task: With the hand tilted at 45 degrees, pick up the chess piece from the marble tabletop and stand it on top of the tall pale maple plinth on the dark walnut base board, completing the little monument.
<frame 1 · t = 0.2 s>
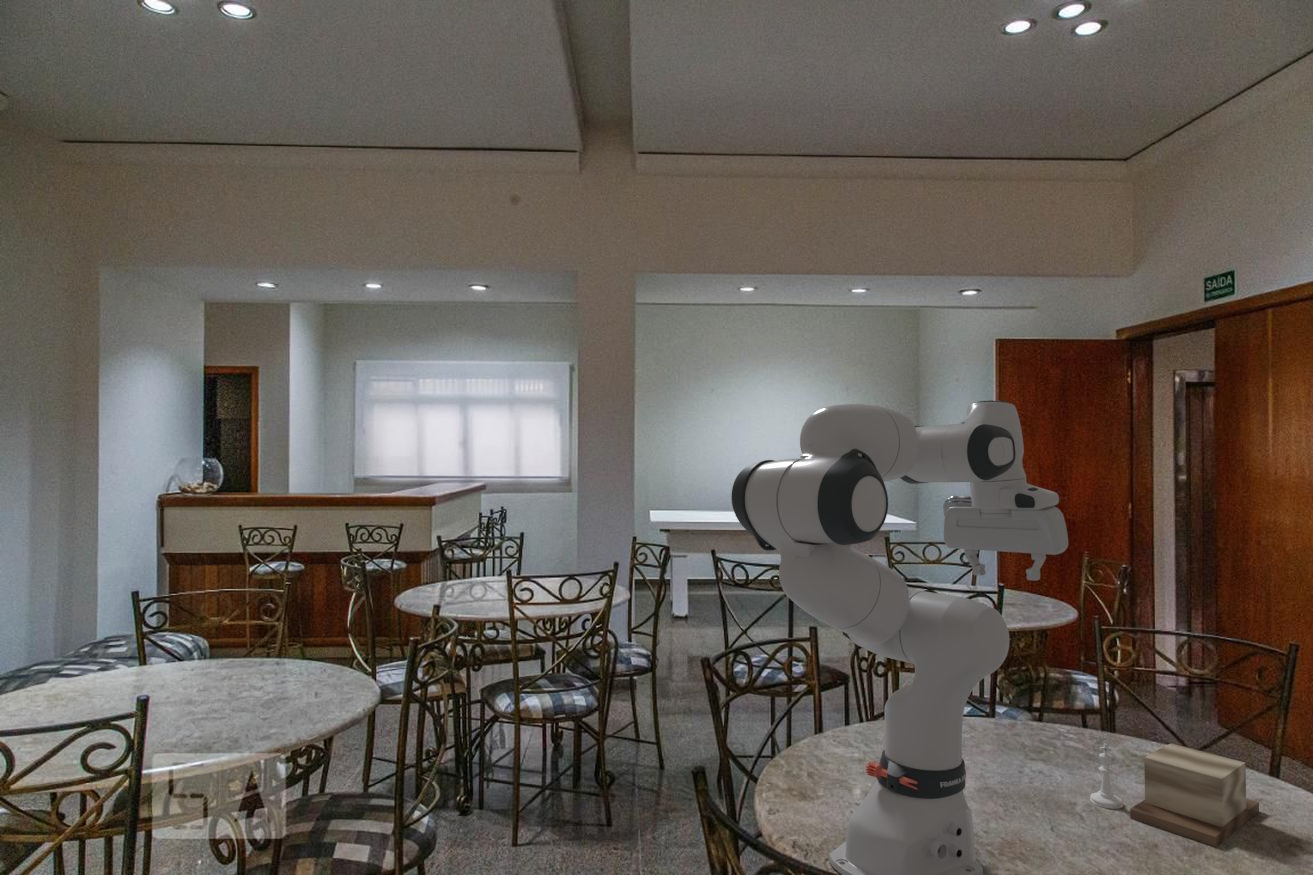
hand: (1005, 577, 133), 39 cm above the table, tool pointing down, fingers open, 8 cm apart
walnut base: (1195, 814, 130), on the table
chess piece: (1106, 803, 135), on the table
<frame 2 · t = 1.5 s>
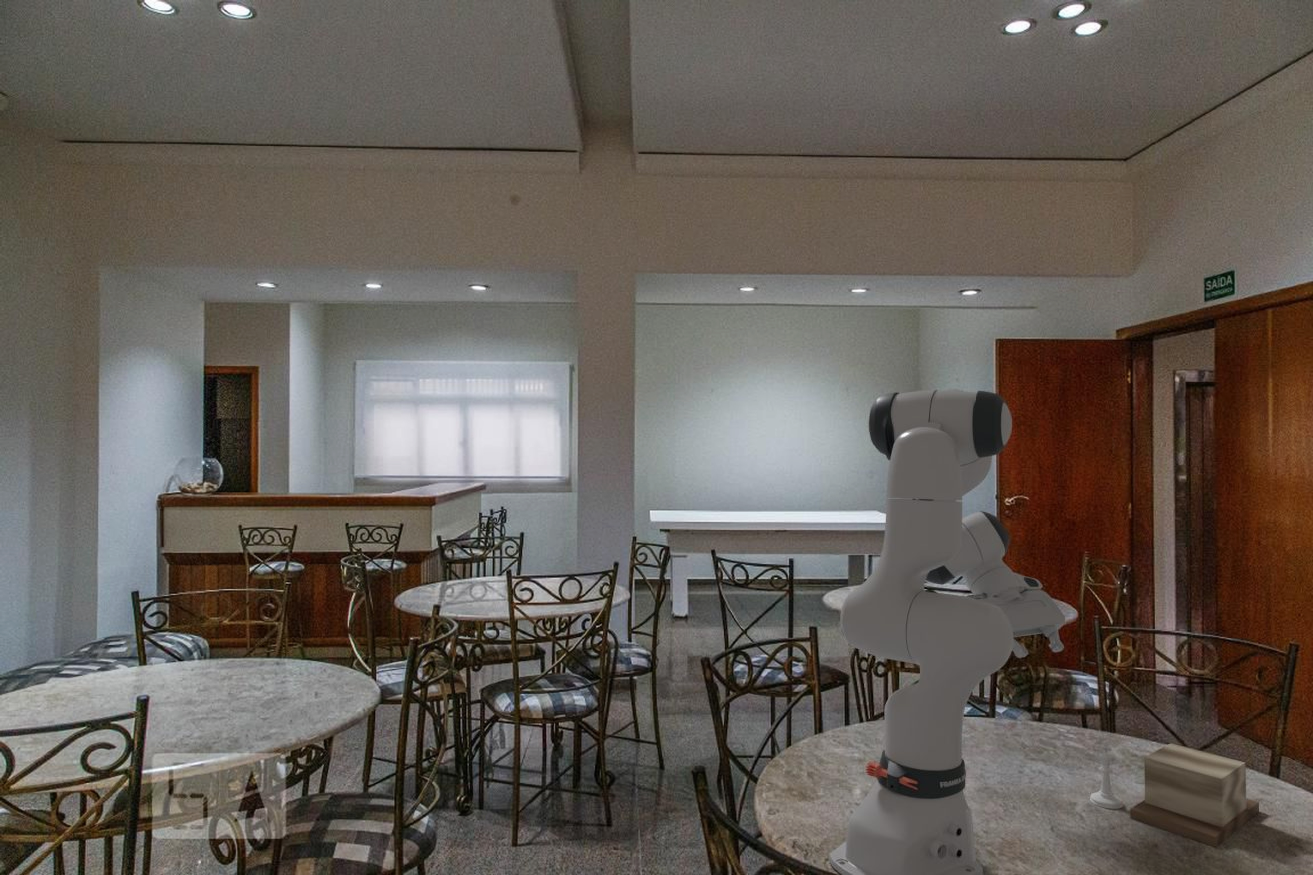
hand: (1041, 653, 147), 23 cm above the table, tool tilted 45°, fingers open, 8 cm apart
nothing on the table moved.
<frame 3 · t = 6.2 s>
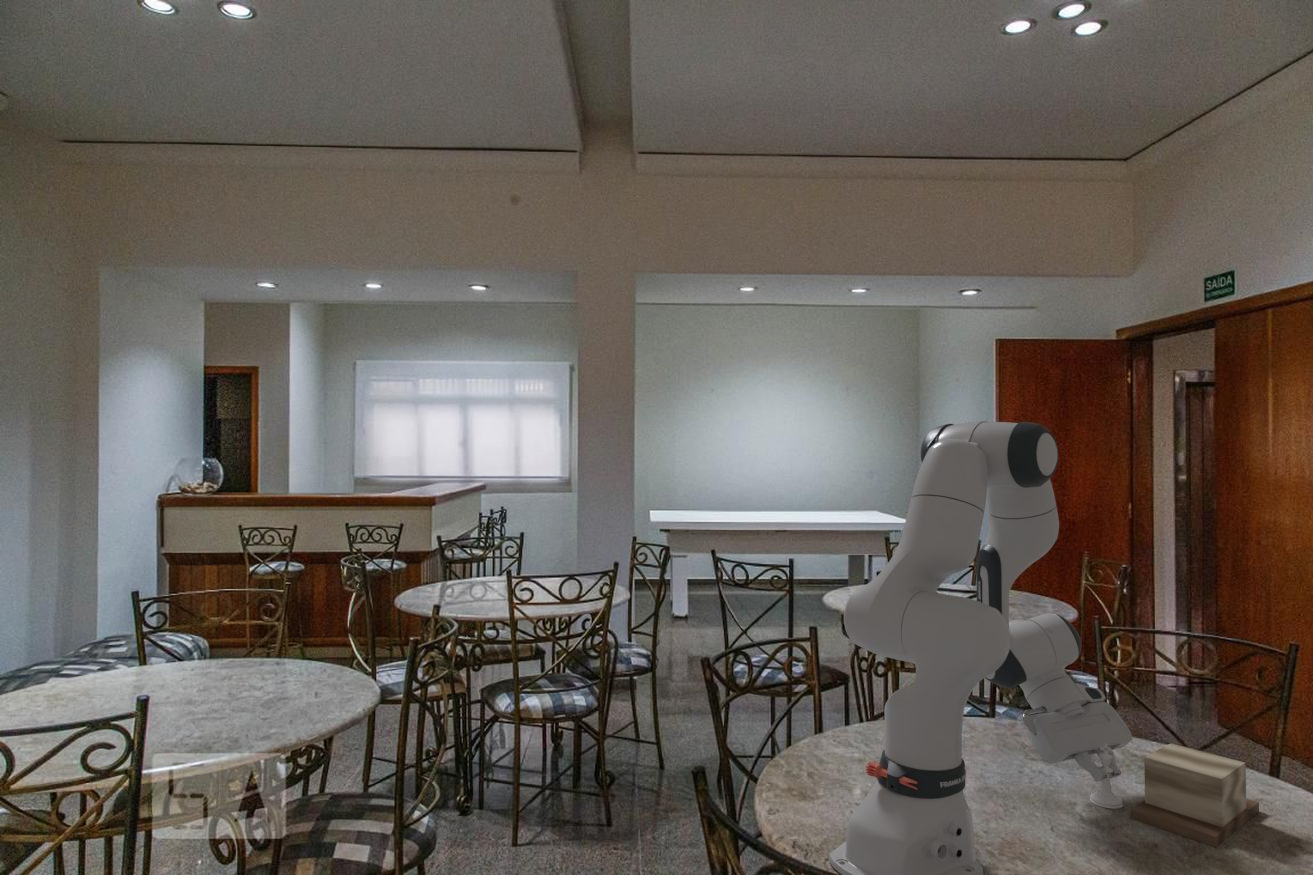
hand: (1109, 777, 134), 4 cm above the table, tool tilted 45°, fingers closed on chess piece, 2 cm apart
chess piece: (1106, 803, 135), on the table, touching gripper
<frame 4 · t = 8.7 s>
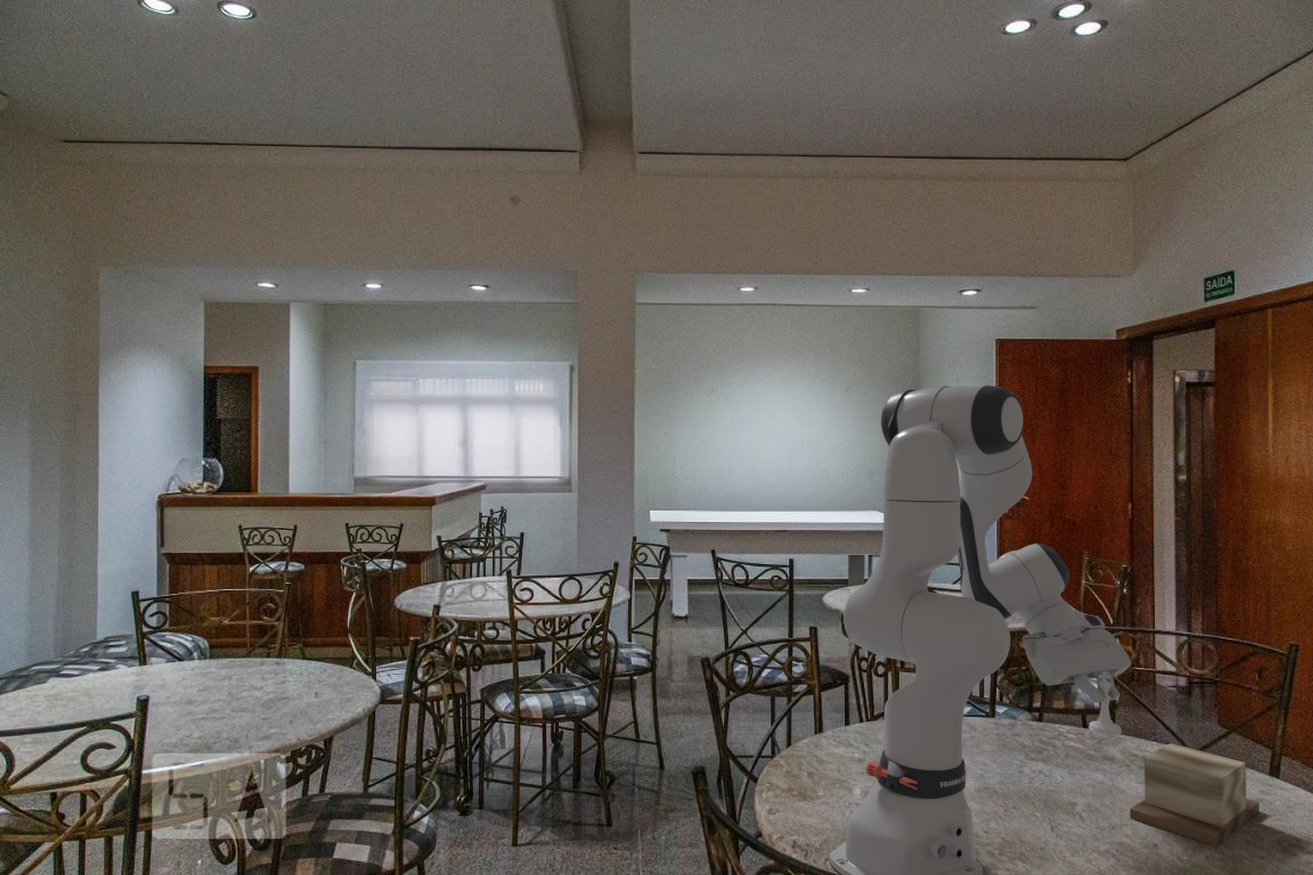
hand: (1108, 699, 135), 18 cm above the table, tool tilted 45°, fingers closed on chess piece, 2 cm apart
chess piece: (1105, 731, 135), point 12 cm above the table, touching gripper
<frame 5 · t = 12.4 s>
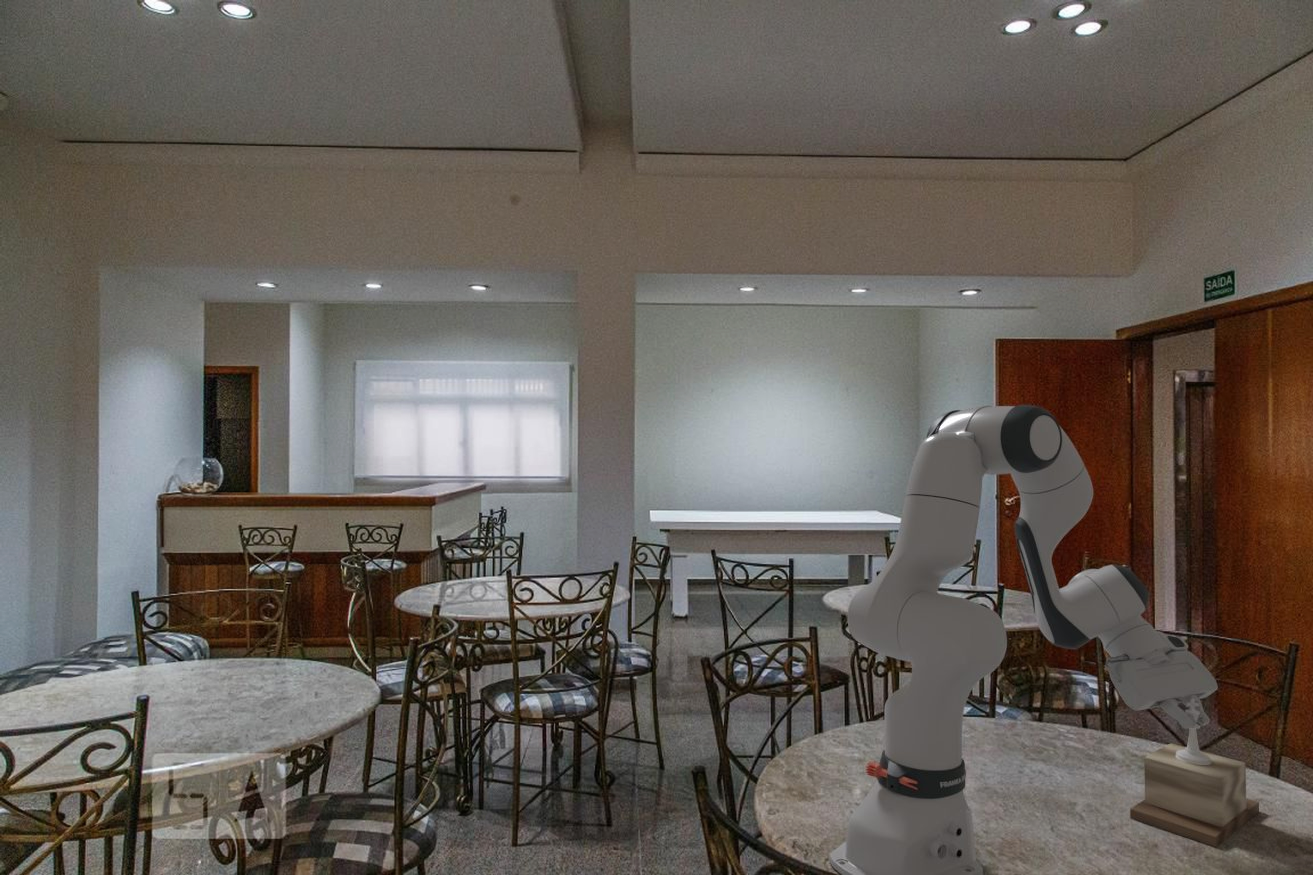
hand: (1198, 725, 130), 15 cm above the table, tool tilted 45°, fingers closed on chess piece, 2 cm apart
chess piece: (1193, 760, 131), point 9 cm above the table, touching gripper, walnut base
when the fingers open (15 cm above the table, at t = 13.0 s): chess piece stays where it is, resting on walnut base.
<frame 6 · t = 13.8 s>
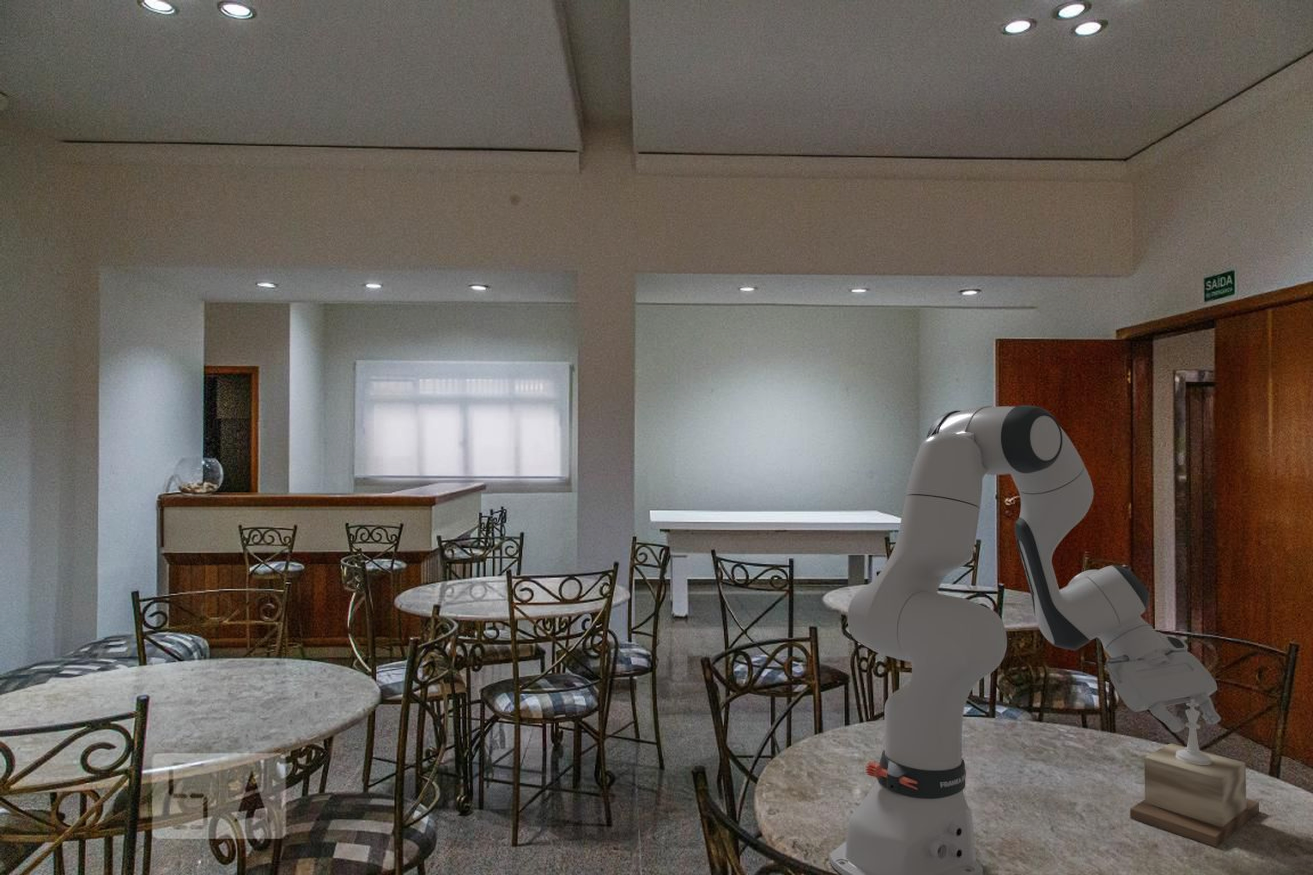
hand: (1198, 726, 130), 15 cm above the table, tool tilted 45°, fingers open, 8 cm apart
chess piece: (1193, 760, 131), point 9 cm above the table, touching walnut base
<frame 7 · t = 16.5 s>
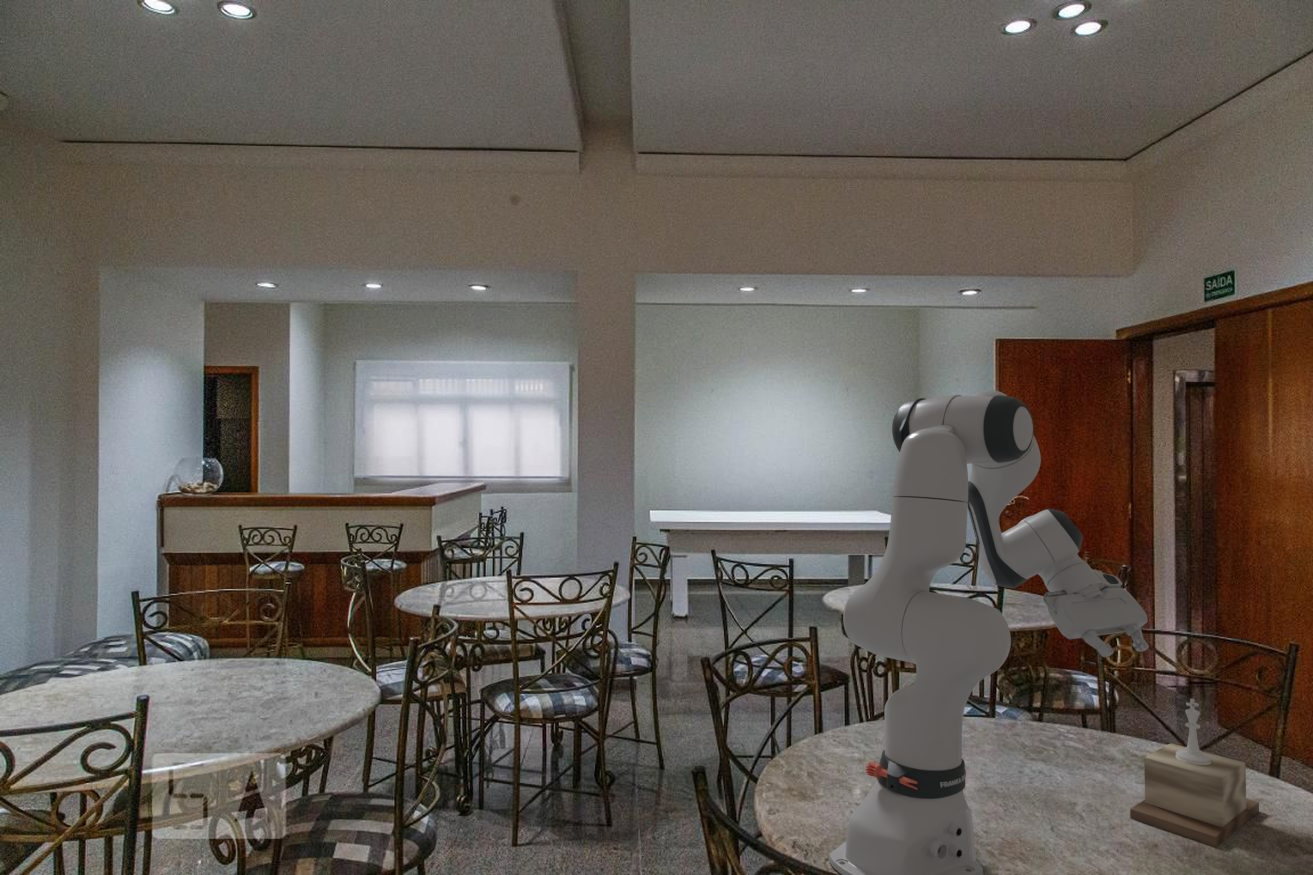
hand: (1126, 652, 142), 24 cm above the table, tool tilted 45°, fingers open, 8 cm apart
nothing on the table moved.
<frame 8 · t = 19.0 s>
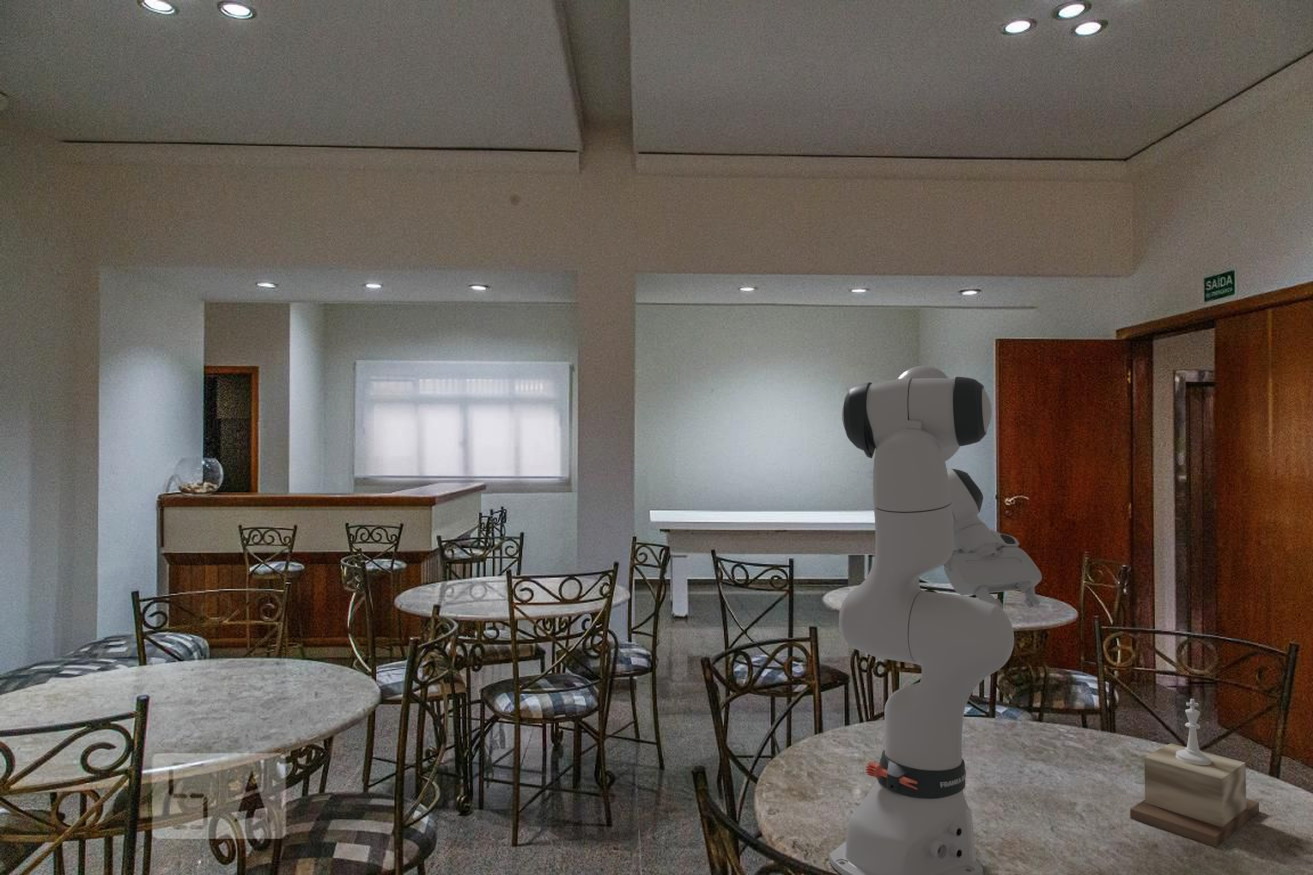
hand: (1017, 607, 146), 31 cm above the table, tool tilted 45°, fingers open, 8 cm apart
nothing on the table moved.
at the end: chess piece inside the target area on the walnut base (0.2 cm from its centre), point 8.8 cm above the walnut base's base; chess piece tilted 0°; the gripper is holding nothing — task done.
